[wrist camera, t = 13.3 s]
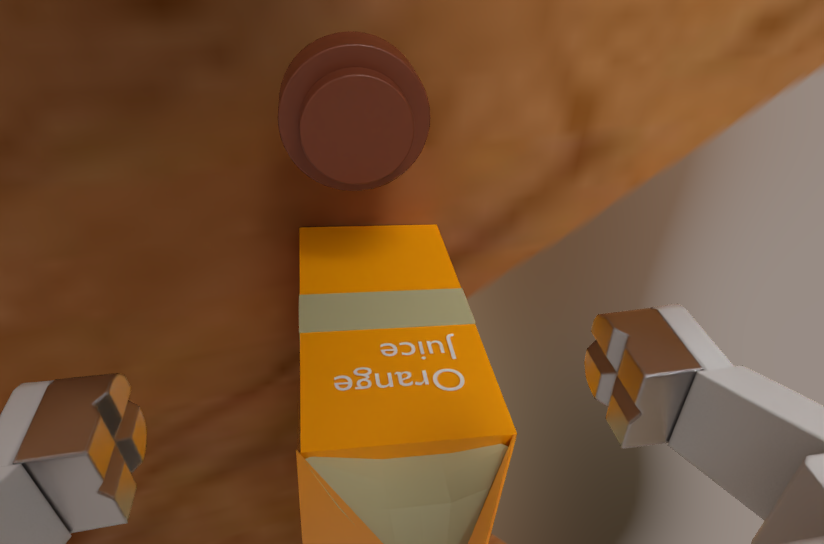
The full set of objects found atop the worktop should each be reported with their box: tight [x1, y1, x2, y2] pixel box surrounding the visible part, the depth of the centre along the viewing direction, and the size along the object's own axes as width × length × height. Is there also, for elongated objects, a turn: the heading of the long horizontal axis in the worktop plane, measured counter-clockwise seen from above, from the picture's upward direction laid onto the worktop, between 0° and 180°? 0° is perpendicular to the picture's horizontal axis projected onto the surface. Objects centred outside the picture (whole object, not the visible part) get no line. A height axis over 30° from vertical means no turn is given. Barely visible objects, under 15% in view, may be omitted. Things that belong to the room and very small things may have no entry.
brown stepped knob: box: [278, 32, 430, 191], centre depth 24 cm, size 6×6×6 cm
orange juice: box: [296, 225, 517, 544], centre depth 26 cm, size 8×9×20 cm
